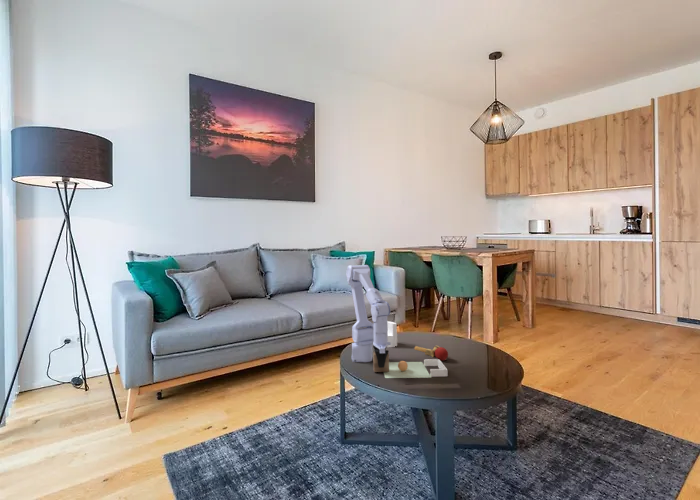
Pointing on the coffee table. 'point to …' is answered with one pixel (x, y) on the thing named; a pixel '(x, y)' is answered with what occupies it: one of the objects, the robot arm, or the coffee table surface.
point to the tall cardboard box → (376, 367)
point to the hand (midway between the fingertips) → (380, 365)
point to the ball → (402, 365)
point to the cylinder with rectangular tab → (392, 334)
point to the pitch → (417, 370)
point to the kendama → (435, 352)
